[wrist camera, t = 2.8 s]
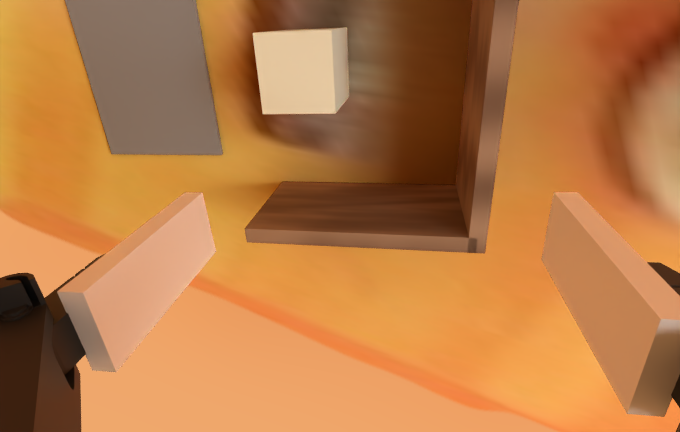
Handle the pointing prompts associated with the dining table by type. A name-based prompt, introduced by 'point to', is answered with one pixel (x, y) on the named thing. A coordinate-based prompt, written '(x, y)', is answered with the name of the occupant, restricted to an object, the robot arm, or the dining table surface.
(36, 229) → the dining table surface
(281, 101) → the beige block
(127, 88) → the grey mat
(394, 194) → the open box
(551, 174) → the dining table surface
